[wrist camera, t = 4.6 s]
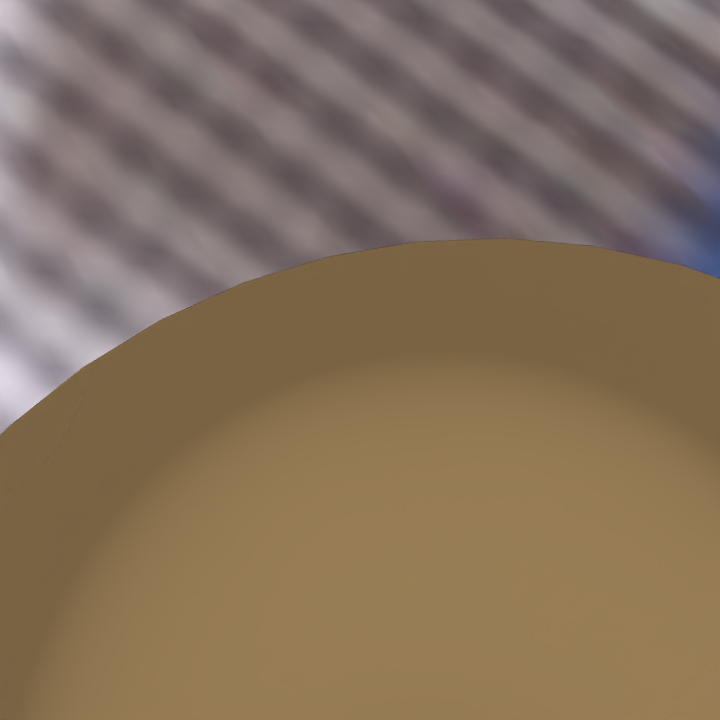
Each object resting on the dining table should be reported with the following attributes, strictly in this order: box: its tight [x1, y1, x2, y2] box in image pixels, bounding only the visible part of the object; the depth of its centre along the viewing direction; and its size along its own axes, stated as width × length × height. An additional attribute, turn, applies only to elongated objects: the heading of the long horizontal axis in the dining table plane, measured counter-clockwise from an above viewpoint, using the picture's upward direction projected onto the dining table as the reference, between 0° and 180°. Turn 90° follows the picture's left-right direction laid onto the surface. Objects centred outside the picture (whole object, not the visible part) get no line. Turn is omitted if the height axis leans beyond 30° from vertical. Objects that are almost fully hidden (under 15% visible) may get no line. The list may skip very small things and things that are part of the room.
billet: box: [0, 238, 720, 720], centre depth 9 cm, size 5×5×13 cm
